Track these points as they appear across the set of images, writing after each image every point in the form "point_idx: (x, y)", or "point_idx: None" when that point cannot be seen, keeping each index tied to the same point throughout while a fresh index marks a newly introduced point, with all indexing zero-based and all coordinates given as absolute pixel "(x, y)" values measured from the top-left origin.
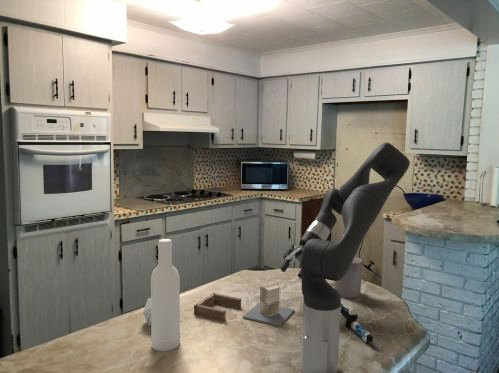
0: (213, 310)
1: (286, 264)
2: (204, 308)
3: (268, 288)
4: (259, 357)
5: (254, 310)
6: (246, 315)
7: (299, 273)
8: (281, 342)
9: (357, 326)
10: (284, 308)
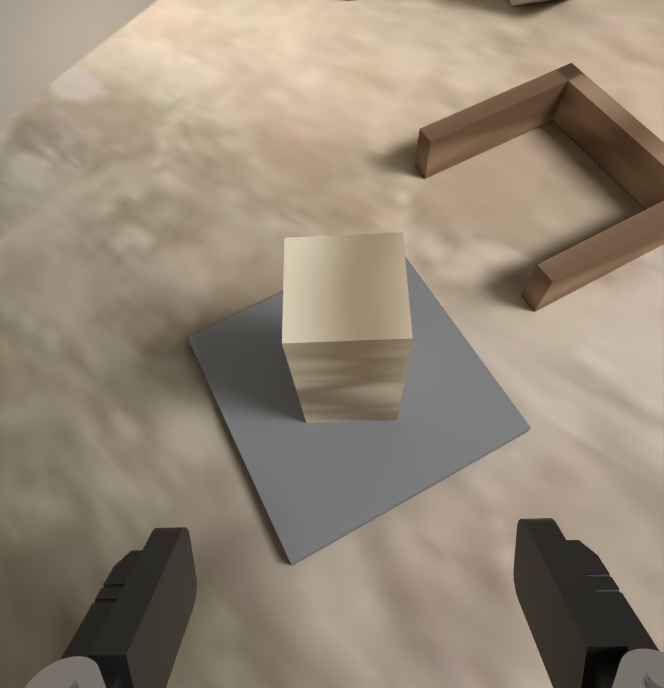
0: (472, 109)
1: (557, 630)
2: (518, 90)
3: (314, 253)
4: (68, 134)
5: (428, 328)
6: None
7: (154, 546)
8: (77, 253)
9: None
10: (346, 510)
